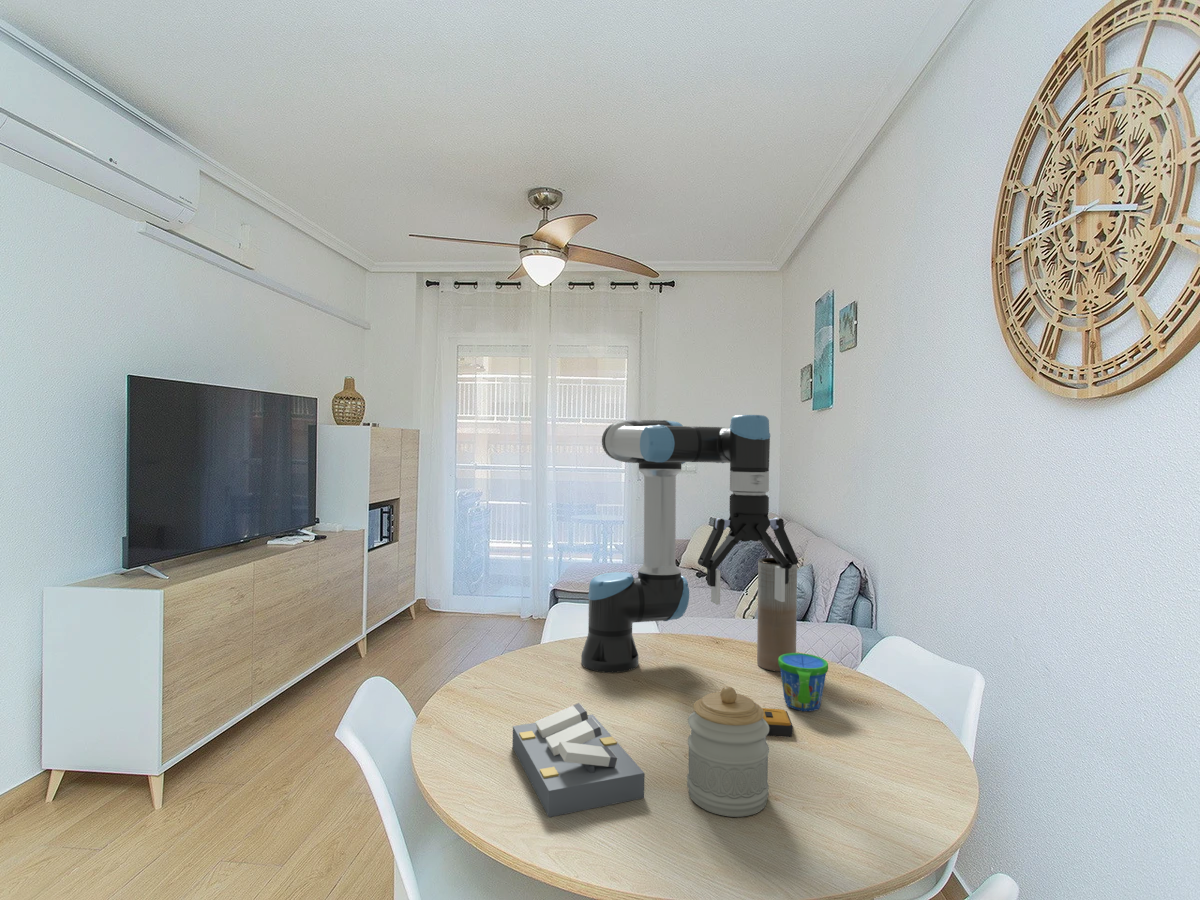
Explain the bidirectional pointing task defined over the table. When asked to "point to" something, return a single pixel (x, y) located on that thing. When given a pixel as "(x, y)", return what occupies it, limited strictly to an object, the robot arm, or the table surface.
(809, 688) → the snack cup
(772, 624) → the vase
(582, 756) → the rocker near
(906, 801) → the table surface
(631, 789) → the switch unit
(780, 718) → the electronic device
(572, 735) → the rocker mid
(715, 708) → the jar
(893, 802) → the table surface
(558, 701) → the table surface
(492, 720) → the table surface
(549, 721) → the rocker far
